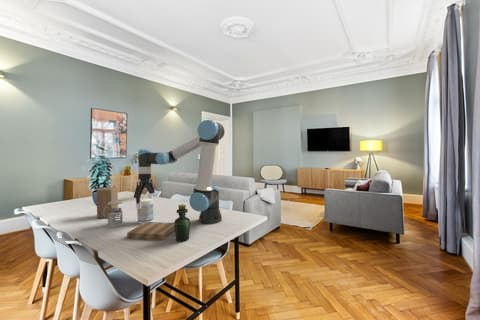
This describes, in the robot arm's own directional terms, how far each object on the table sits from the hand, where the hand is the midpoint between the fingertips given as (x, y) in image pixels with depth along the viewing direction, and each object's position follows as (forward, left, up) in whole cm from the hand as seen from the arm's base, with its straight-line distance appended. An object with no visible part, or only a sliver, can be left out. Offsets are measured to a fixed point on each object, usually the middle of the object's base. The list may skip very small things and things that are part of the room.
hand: (144, 205), depth 140 cm
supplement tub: (0, 0, -11) cm, 11 cm away
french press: (+17, +7, -11) cm, 21 cm away
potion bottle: (-35, +24, -11) cm, 44 cm away
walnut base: (-15, +17, -11) cm, 25 cm away
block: (+34, -9, -11) cm, 37 cm away
